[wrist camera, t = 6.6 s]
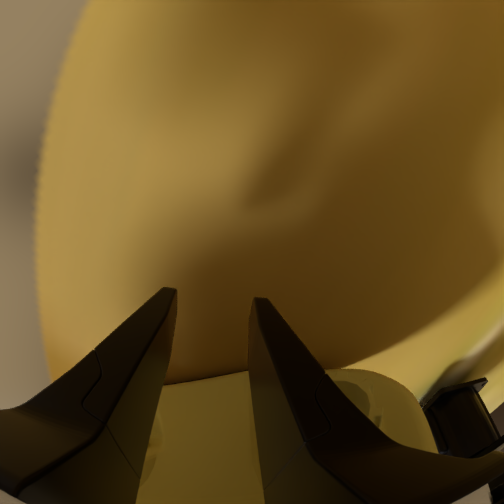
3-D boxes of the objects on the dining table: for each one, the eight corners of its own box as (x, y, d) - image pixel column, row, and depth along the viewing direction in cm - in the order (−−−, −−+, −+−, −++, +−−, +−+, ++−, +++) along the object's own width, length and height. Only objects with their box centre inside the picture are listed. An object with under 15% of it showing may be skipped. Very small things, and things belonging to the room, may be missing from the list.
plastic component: (112, 412, 18) (94, 532, 9) (43, 350, 14) (-4, 494, 5) (397, 352, 16) (454, 500, 7) (401, 254, 12) (525, 466, 3)
